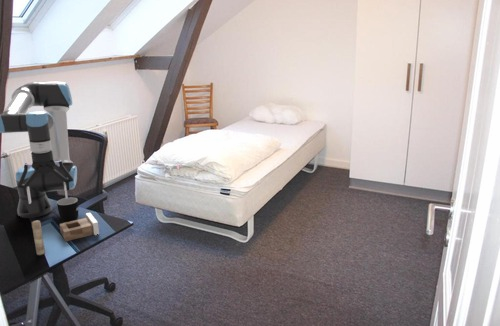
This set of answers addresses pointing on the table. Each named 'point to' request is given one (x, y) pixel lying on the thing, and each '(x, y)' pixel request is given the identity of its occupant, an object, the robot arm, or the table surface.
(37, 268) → the table surface
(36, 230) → the dowel
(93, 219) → the rail
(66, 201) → the mug
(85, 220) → the block
